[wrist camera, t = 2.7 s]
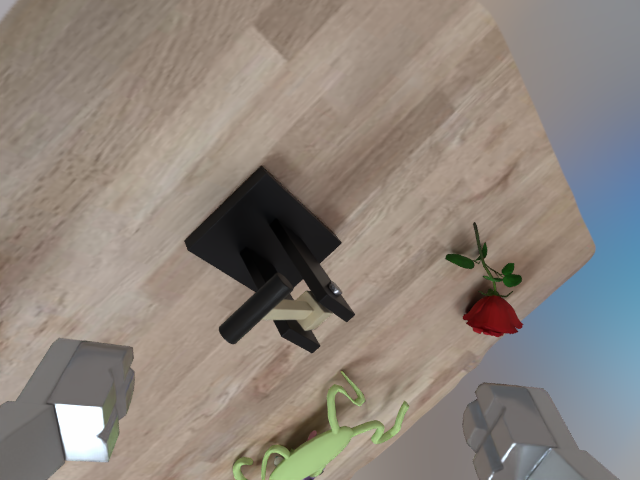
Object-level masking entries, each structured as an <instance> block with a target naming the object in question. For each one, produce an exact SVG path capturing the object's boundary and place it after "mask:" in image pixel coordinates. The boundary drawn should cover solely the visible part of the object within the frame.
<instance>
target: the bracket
mask: <svg viewBox="0 0 640 480" xmlns="http://www.w3.org/2000/svg"><path fill="white" fill-rule="evenodd" d="M341 243H342V242H341V241H340V240H339V239H338V237H337V236H336V235H335V234H334V233H333V232H332V231H331V230H329V229H328V228H327V227H326V226H325V225H324V224H323V223H322V222H321V221H320V220H319V219H318V218H317V217H316V216H314V215H313V214H312V213H311V212H310V211H309V210H308V209H307V208H306V207H305V206H304V205H303V204H302V203H301V202H299V201H298V200H297V199H296V198H295V197H294V196H293V195H292V194H291V193H290V192H289V191H288V190H287V189H285V188H284V187H283V186H282V185H281V184H280V183H279V182H278V181H277V180H276V179H275V178H274V177H273V176H272V175H270V174H269V173H268V172H267V171H266V170H265V169H264V168H263V167H262V166H261V167H260V168H259V169H258V170H257V171H256V172H255V173H254V174H253V175H252V176H251V177H249V178H248V179H247V180H246V181H245V182H244V183H243V184H242V185H241V186H240V187H239V188H238V189H237V190H236V191H235V192H234V193H233V194H232V195H231V196H230V197H229V198H228V199H227V200H226V201H225V202H224V203H223V204H222V205H221V206H220V207H219V208H218V209H217V210H216V211H215V212H214V213H213V214H212V215H211V216H210V217H209V218H208V219H206V220H205V221H204V222H203V223H202V224H201V225H200V226H199V227H198V228H197V229H196V230H195V231H194V232H193V233H192V234H191V235H190V236H189V237H188V238H187V239H186V240H185V244H186V247H187V250H188V251H190V252H192V253H193V254H195V255H196V256H198V257H200V258H201V259H203V260H204V261H206V262H208V263H209V264H211V265H213V266H214V267H216V268H217V269H219V270H221V271H222V272H224V273H225V274H227V275H229V276H230V277H232V278H234V279H235V280H237V281H238V282H240V283H242V284H243V285H245V286H246V287H248V288H250V289H251V290H253V291H255V292H257V291H258V290H259V289H260V288H261V287H262V286H263V285H264V284H265V283H266V282H267V281H269V280H270V279H271V278H272V277H273V276H274V275H275V274H276V273H280V274H282V275H283V276H284V277H285V278H286V279H287V280H288V281H289V282H290V283H291V285H292V287H293V288H294V287H295V286H296V285H297V284H298V283H299V282H300V281H302V280H303V279H304V281H305V282H306V284H307V285H308V287H309V289H310V290H311V292H312V293H313V295H314V296H315V298H316V300H317V301H318V303H320V304H321V305H323V306H324V307H325V308H327V309H328V310H330V311H331V312H333V313H334V314H335V315H337V316H338V317H340V318H341V319H343V320H344V321H345V322H348V321H349V320H350V319H351V318H352V317H353V316H354V315H355V314H354V312H353V311H352V309H351V308H350V307H349V305H348V304H347V302H346V301H345V299H344V298H343V297H342V295H341V294H342V291H341V289H340V288H339V287H338V286H337V285H336V284H335V283H334V282H333V281H331V280H330V278H329V277H328V275H327V274H326V272H325V271H324V270H323V268H322V267H321V265H320V263H321V262H322V261H323V260H324V259H325V258H326V257H327V256H328V255H330V254H331V253H332V252H333V251H334V250H335V249H336V248H337V247H338V246H339V245H340V244H341ZM284 299H286V300H294V299H293V298H292V296H291V294H289V295H287V296H286V297H285V298H284ZM273 321H274V323H275V325H276V327H277V329H278V331H279V333H280V335H281V337H283V338H285V339H287V340H288V341H290V342H292V343H294V344H296V345H298V346H299V347H301V348H303V349H305V350H307V351H309V352H310V353H313V352H315V351H316V350H317V349H318V348H319V347H320V344H319V343H318V341H317V339H316V337H315V336H314V334H313V332H312V330H306V331H305V330H304V329H303V328H302V327H301V325H300V324H299V323H298V322H297V320H273Z"/></svg>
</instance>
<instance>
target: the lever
mask: <svg viewBox="0 0 640 480" xmlns="http://www.w3.org/2000/svg"><path fill="white" fill-rule="evenodd" d="M292 291H293V287H292V285H291V283H290V282H289V281H288V280H287V279H286V278H285V277H284V276H283V275H282V274H280V273H276V274H275V275H274V276H273V277H272V278H271V279H270V280H269V281H267V282H266V283H265V284H264V285H263V286H262V287H261V288H260V289H259V290H258V291H257V292H256V293H255V294H254V295H253V296H251V297H250V298H249V299H248V300H247V301H246V302H245V303H244V304H243V305H242V306H241V307H240V308H239V309H238V310H237V311H235V312H234V313H233V314H232V315H231V316H230V317H229V318H228V319H227V320H226V321H225V322H224V323H223V324H222V325H221V326H220V327H219V332H220V334H221V336H222V337H223V338H224V339H225V340H226V341H227V342H229V343H230V344H236V343H237V342H238V341H239V340H240V339H241V338H242V337H243V336H244V335H245V334H246V333H248V332H249V331H250V330H251V329H252V328H253V327H254V326H255V325H256V324H257V323H258V322H259V321H260V320H297V322H298V323H299V324H300V325H301V327H302V328H303V329H304V330H305V331H306V330H315V329H316V328H317V327H319V326H320V325H321V324H322V323H323V322H324V321H325V320H326V319H327V318H328V317H330V316H331V315H332V314H333V312H331V311H330V310H328V309H327V308H325V307H324V306H323V305H321V304H320V303H318V301H317V300H316V298H315V296H314V295H313V293H312V292H311V291H305V292H304V293H303V294H302V295H301V296H300V297H299V298H297V299H296V300H286V299H284V298H285V297H286V296H287V295H289V294H290V293H291V292H292Z"/></svg>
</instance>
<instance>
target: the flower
mask: <svg viewBox="0 0 640 480" xmlns="http://www.w3.org/2000/svg"><path fill="white" fill-rule="evenodd" d="M473 226H474V230H475V235H476V240H477V245H478V250H479V254H480V256H479V257H478V258H477V259H476V260H471V259H469V258H467V257H464V256H461V255H459V254H447V255H446V258H445V259H446V260H448V261H450V262H452V263H454V264H456V265H458V266H460V267H463V268H466V269H472V268H474V266H475V265H474V262H476V261H477V260H480V261H482V264H483V267H484V268H485V270H486V271H487V273H488V275H489V276H490V277H488V276H483V277H484V278H485V279H487V280H490V281H492V282H493V287H494V291H493V289H491V288H490V289H488V293H486V294H484V293H483V292H481V291H478V292H481V294H483V295H485V297H483V298H482V299H480V300H479V301H478V302H477V303H476V304H475V305H474V306H473V307H472V309H471V310H470V311H469V312H468V313H467V314H464V316H463V319H464V320H467V321H468V322H467V323H466V324H468V325H469V326H471V327H473V331H474V332H476V333H479V334H481V332H483V334H485V335H491V336H496V337H499V336H502V335H503V334H504V333H509V334H514V333H516V332H518V331H517V330H516V328H518V329H520V328H522V325H523V324H522V323H521V322H520V321H519V319H518V317H517V315H516V313H515V311H514V309H513V308H512V306H511V305H510V304H509V303H508V302H507V301H505V300H504V299H503V298H502V297H508V296H509V295H510V294H511V293H512V292H513V291H512V292H511V293H509V294H508V295H507V296H502V295H499V293H498V292H497V291H496V284H495V282H501V281H503V283H504V284H505V285H506V286H507V287H514V286H517V285H518V284H520V283H521V281H522V277H521V276H520V275H515V274H512V272H513V270H514V263H508V264H507V265H506V266H505V267H504V268H503V269H502V274H503V275H504V276H505V277H504V278H503V279H501V278H493V276H492V275H491V273H490V271H489V270H488V268H490V267H488V266H487V265H486V264H485V262H484V259H485V258H486V255H487V246H486V242H485V243H484V245H483V248H482V250H481V245H480V240H479V234H478V229H477V225H476V223H475V222H474V223H473ZM473 261H474V262H473ZM476 263H477V262H476ZM479 263H480V262H479ZM479 263H478V264H479ZM486 266H487V267H488V268H487V267H486ZM490 269H491V268H490ZM491 270H493V269H491ZM493 271H494V272H495V273H496V274H497V273H498V272H496V271H495V270H493ZM498 274H499V273H498ZM502 274H499V275H500V276H501V275H502ZM497 276H498V275H497ZM501 277H503V276H501ZM515 327H516V328H515Z"/></svg>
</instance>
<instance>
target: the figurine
mask: <svg viewBox="0 0 640 480" xmlns="http://www.w3.org/2000/svg"><path fill="white" fill-rule="evenodd" d="M341 374H342V375H343V376H344V378H345V379H346V380H347V381H348V382H349V384H350V385H351V386H352V387H353V389H354V390H355V392H356V394H357V396H358V398H357V399H355V400H353V399H352V398H350V396H349V395H348V394H347V392H346V391H345V390H344V389H343V387H342V386H339V385H335V384H334V385H333V386H332V387H331V388H330V389H329V390H328V394H327V407H328V419H329V423H330V426H331V428H332V429H331V430H329V431H326V432H324V433H322V434H319V435H317V436H316V434H317V431H315V430H314V431H312V432H311V434H310V436H309V438H308V440H307V442H305V443H304V444H302V445H301V446H299V447H298V448H297V449H295V450H293V449H291V452H290V451H289V450H288V449H286V448H285V447H283V446H281V445H272V446H271V447H270V448H269V449H268V450H267V451H266V453H265V456H264V458H263V462H262V467H261V476H262V480H265V474H266V465H267V461H268V458H269V455H270V454H271V453H278V454H281V455H282V456H283V457H284V459H283V458H282V457H280V456H279V457H278V456H277V457H276V458H275V460H274V464H275V466H276V468H275V469H274V471H273V472H272V473H271V475H270V478H269V480H313V479H314V478H315V477H316V476H318V475H320V474H322V473H323V472H324V471H323V470H324V469H325V466H326V464H328V463H329V462H330V461H332V460H333V459H334V458H335V457H336V456H337V455H338V454H339V453H340V452H341V451H342V450H343V449H344V448H345V447H346V445H347V444H348V443H349V442H350V440H351V438H352V437H354V436H356V435H358V434H361V433H363V432H366V431H368V430H371V429H375V428H377V430H376V432H375V433H374V434H373V436H372V437H371V440H372V442H373V443H374V444H380V443H383V442H385V441H387V440H389V439H390V438H392V437H393V436H394V435H396V434H397V433H398V432H399V431H400V429H401V424H402V421H403V418H404V415H405V413H406V411H407V410H408V408H409V405H408V404H407V402H405V401H404V402H403V404H402V406H401V408H400V410H399V412H398V415H397V418H396V421H395V425H394V426H393V427H392V428H391V429H390V430H389V431H387V432H386V433H384V434H383V432H384V425H383V424H382V423H381V422H380V421H377V420H374V421H369V422H366V423H364V424H361V425H358V426H356V427H353V428H350V427H347V426H343V427H339V425H338V422H337V419H336V409H335V401H334V399H335V394H336V393H337V392H338V391H339V392H341V393H343V394H345V395H346V396H347V397H348V398H349V399H350V400H351V401H352V402H353V403H354V404H356V405H359V406H361V405H362V404H363V403H364V402H365V398H364V395H363V393H362V392H361V391H360V389H359V388H358V387H357V386H356V385H355V384H354V383H353V382H351V381H350V380H349V379H348V377H347V376H346V375H345V374H344V373H343V372H342V371H341ZM244 464H245V465H252V464H253V460H252V459H251V458H247V457H242V458H240V459H238V460H237V461H236V462H235V464H234V466H233V474H234V477H235V479H236V480H247V479H246V478H245V477H244V476H243V474H242V473H241V470H240V468H241V466H242V465H244Z"/></svg>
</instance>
